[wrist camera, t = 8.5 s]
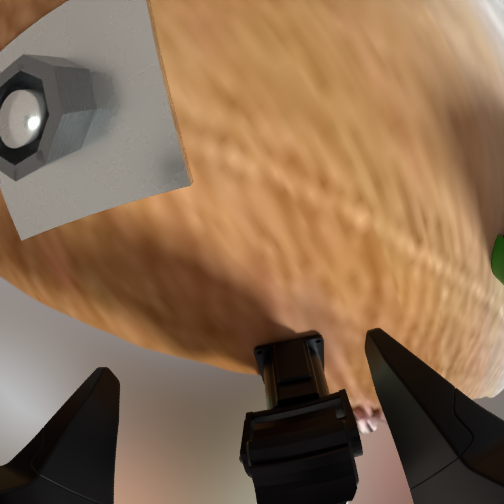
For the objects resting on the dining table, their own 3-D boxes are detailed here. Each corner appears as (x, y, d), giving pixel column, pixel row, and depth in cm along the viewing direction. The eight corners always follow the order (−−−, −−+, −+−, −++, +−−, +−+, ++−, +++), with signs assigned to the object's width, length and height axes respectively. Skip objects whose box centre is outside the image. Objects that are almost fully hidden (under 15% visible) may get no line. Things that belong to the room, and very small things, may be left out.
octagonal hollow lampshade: (105, 138, 15) (72, 150, 11) (32, 173, 15) (-2, 192, 12) (84, 43, 11) (49, 34, 8) (12, 90, 12) (-24, 96, 8)
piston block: (193, 181, 17) (177, 209, 13) (27, 235, 18) (-5, 265, 14) (144, -29, 9) (117, -60, 5) (-16, 74, 10) (-56, 80, 6)
